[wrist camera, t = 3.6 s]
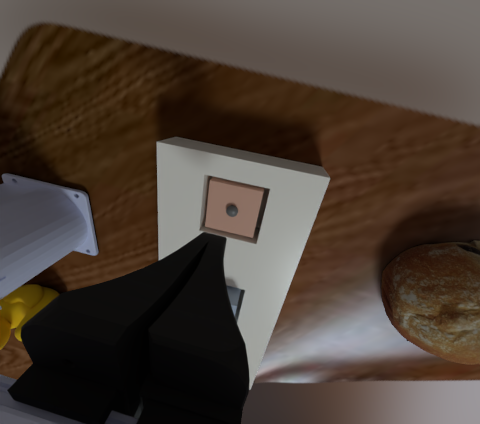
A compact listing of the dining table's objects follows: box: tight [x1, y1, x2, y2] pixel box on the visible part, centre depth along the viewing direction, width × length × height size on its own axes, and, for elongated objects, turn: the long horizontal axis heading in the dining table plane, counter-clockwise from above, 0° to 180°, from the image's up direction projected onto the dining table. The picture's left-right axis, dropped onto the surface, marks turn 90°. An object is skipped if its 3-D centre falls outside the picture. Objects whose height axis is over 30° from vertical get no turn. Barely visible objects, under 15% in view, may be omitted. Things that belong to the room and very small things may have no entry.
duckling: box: [0, 284, 60, 350], centre depth 26 cm, size 11×5×10 cm, turn 93°
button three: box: [226, 285, 241, 316], centre depth 20 cm, size 4×4×3 cm
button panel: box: [157, 137, 330, 389], centre depth 22 cm, size 12×28×3 cm, turn 171°
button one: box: [205, 177, 264, 238], centre depth 17 cm, size 4×4×3 cm
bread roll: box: [381, 240, 480, 364], centre depth 17 cm, size 10×10×8 cm
